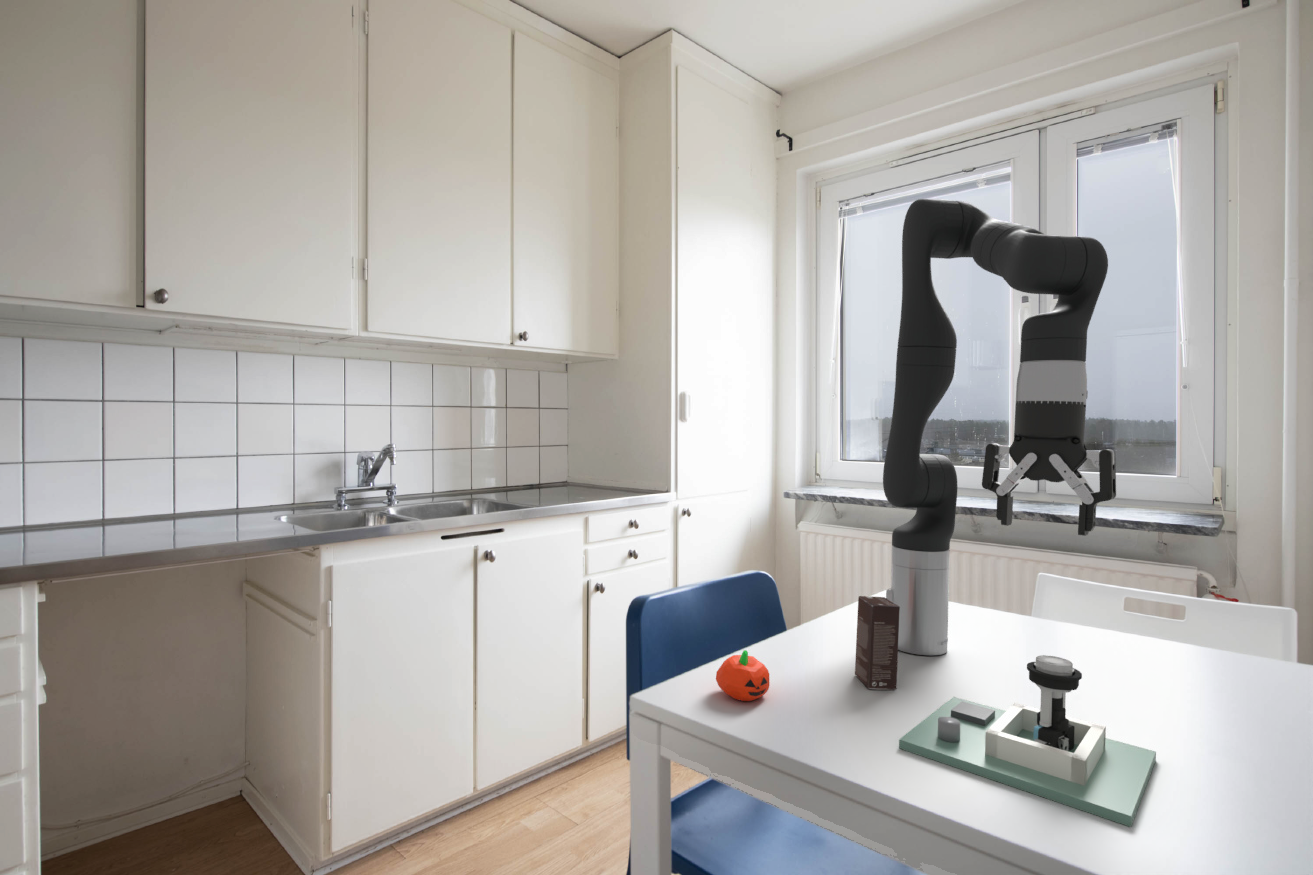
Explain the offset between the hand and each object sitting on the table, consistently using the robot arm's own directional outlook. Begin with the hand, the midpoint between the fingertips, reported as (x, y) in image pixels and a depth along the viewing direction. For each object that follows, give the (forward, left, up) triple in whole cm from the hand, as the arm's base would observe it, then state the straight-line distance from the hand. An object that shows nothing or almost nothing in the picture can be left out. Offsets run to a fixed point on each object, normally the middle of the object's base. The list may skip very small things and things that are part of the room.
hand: (1043, 529), depth 83 cm
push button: (+3, -8, -24) cm, 26 cm away
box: (-21, 0, -25) cm, 33 cm away
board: (+1, -9, -25) cm, 26 cm away
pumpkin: (-32, -18, -25) cm, 45 cm away
